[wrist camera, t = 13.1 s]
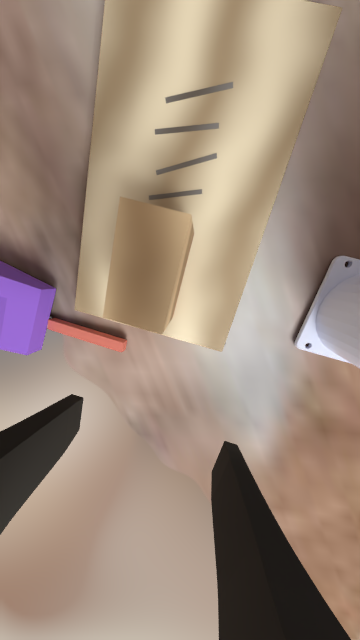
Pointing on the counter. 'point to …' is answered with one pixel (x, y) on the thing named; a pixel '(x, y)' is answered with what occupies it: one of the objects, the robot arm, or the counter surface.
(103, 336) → the red square bar
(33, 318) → the bracket
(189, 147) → the board
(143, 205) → the block
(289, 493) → the counter surface
